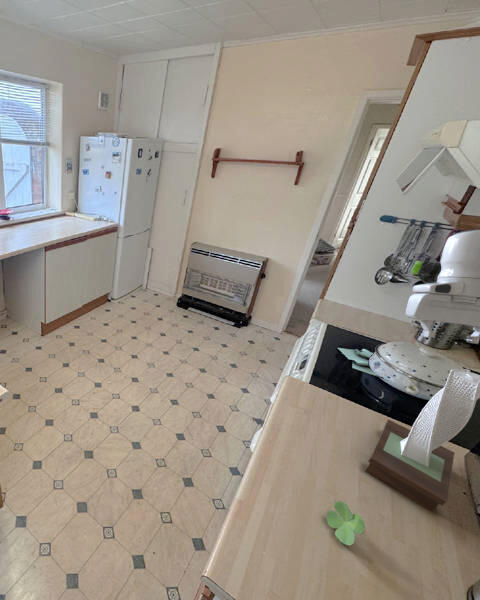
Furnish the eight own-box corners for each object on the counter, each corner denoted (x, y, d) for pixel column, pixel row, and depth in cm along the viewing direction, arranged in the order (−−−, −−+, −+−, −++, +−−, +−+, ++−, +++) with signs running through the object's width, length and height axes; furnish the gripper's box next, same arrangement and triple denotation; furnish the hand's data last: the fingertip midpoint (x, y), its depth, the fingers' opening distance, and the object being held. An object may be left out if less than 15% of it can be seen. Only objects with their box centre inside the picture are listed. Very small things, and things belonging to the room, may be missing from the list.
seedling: (340, 542, 73) (325, 537, 71) (338, 503, 76) (324, 497, 74) (380, 556, 67) (366, 551, 65) (377, 513, 71) (363, 506, 68)
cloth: (404, 388, 117) (407, 383, 116) (333, 360, 130) (335, 355, 129) (403, 364, 131) (406, 359, 130) (339, 341, 144) (341, 337, 143)
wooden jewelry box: (380, 431, 98) (388, 419, 96) (443, 464, 88) (454, 452, 86) (361, 470, 85) (370, 457, 83) (434, 514, 76) (446, 501, 73)
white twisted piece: (435, 474, 80) (511, 387, 67) (396, 456, 84) (460, 371, 71) (430, 453, 85) (499, 370, 73) (394, 437, 89) (453, 356, 77)
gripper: (496, 294, 87) (486, 344, 88) (406, 285, 92) (397, 333, 93) (522, 295, 81) (511, 348, 82) (423, 285, 86) (414, 336, 86)
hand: (450, 340), depth 87 cm, fingers open, 8 cm apart
